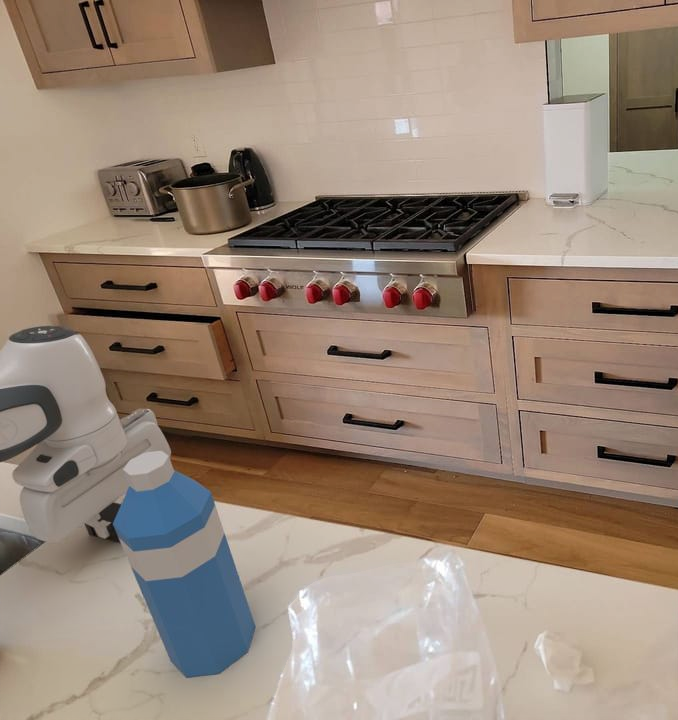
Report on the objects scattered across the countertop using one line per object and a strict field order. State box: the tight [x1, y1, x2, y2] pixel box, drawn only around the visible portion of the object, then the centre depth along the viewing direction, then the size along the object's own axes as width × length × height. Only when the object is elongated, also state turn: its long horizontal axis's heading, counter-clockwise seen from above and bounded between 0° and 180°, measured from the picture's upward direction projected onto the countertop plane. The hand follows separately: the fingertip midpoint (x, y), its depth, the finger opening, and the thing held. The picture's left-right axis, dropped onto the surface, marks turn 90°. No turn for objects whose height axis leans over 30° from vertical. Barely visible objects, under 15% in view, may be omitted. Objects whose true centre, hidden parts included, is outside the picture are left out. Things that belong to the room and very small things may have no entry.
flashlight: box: [84, 501, 122, 544], centre depth 95 cm, size 12×4×4 cm, turn 67°
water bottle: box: [113, 451, 256, 679], centre depth 72 cm, size 9×9×25 cm
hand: (121, 523), depth 96 cm, fingers closed on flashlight, 3 cm apart
